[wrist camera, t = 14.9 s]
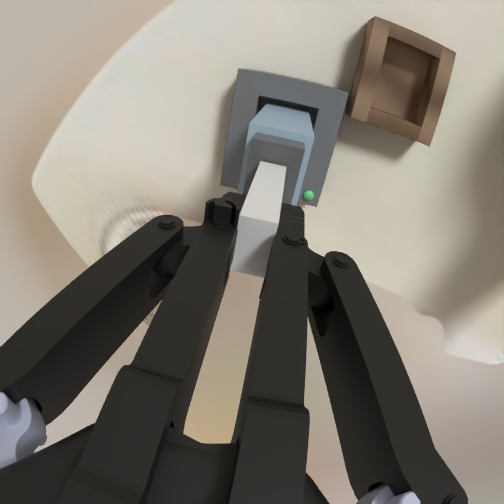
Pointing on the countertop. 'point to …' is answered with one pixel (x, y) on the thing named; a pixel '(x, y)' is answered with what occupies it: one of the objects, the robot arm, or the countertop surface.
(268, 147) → the plug
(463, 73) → the countertop surface
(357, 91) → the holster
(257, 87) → the port
